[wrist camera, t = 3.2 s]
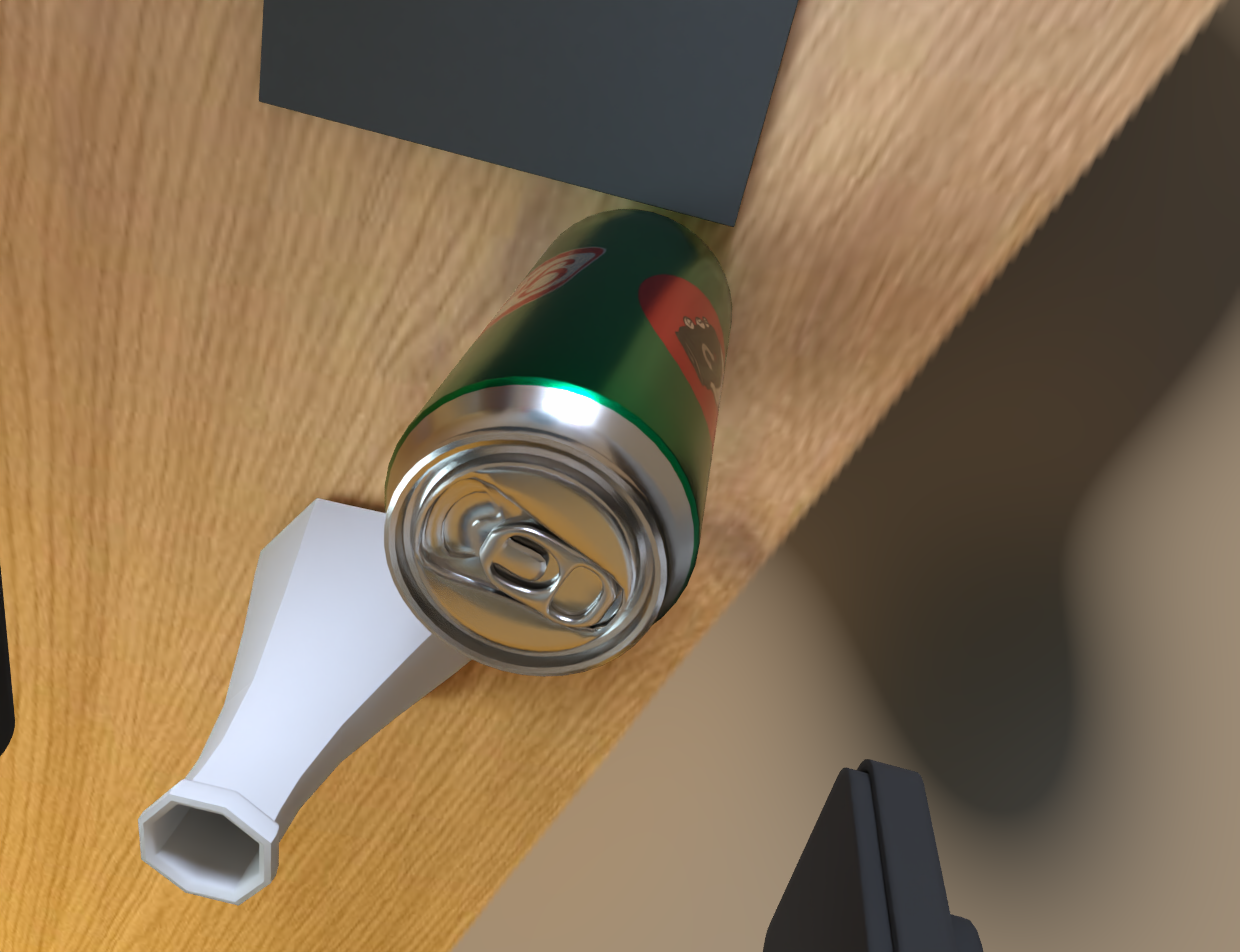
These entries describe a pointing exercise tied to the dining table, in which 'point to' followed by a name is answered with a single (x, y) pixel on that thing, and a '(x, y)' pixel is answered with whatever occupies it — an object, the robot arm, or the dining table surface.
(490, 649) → the soda can
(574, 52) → the mat
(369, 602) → the flask
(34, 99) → the dining table surface
